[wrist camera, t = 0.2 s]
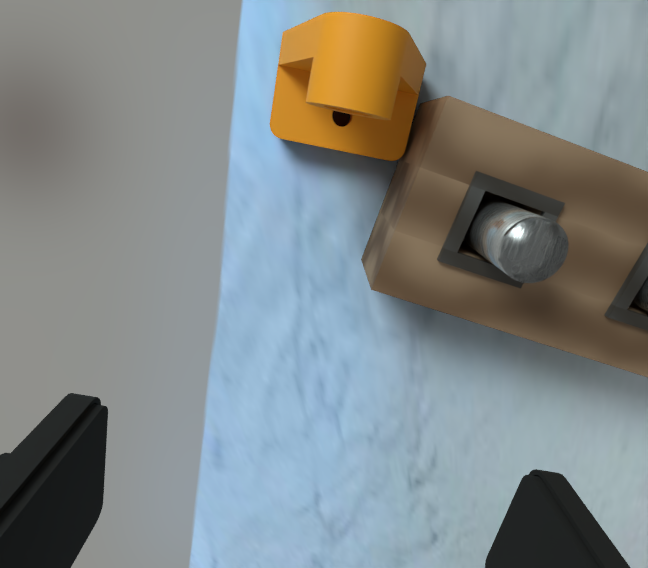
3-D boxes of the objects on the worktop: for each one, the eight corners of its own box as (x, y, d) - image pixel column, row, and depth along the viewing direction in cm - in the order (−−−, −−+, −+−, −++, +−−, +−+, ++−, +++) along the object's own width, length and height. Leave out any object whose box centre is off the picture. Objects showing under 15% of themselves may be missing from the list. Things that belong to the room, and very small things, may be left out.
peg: (477, 192, 31) (519, 208, 25) (526, 209, 32) (580, 230, 25) (454, 243, 32) (489, 271, 26) (502, 259, 33) (547, 291, 26)
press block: (420, 103, 35) (450, 95, 27) (708, 212, 39) (811, 233, 31) (361, 259, 40) (372, 291, 32) (624, 345, 43) (694, 394, 35)
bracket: (271, 135, 36) (250, 137, 25) (285, 39, 34) (269, -8, 22) (396, 161, 37) (430, 174, 26) (418, 69, 34) (467, 38, 23)
